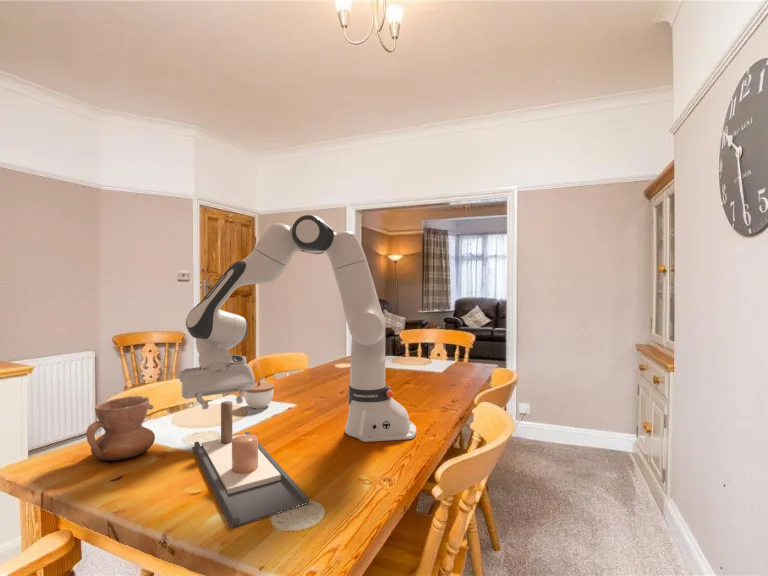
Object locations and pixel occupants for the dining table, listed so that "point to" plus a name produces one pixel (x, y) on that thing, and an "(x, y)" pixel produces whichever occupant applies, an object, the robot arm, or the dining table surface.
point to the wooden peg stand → (222, 459)
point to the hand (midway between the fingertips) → (223, 405)
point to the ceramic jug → (121, 428)
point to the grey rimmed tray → (253, 493)
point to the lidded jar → (259, 395)
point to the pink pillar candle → (244, 454)
